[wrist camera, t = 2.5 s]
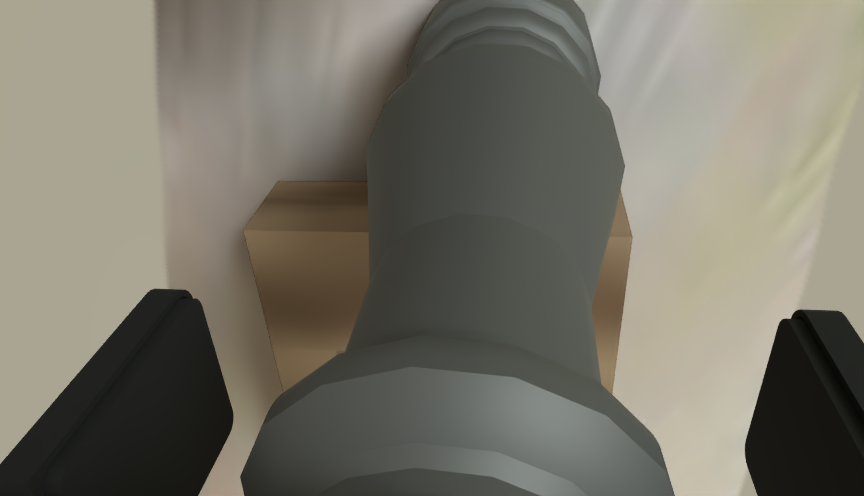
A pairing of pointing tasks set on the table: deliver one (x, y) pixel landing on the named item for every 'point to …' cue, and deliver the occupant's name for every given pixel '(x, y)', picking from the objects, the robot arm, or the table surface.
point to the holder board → (364, 274)
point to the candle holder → (476, 284)
